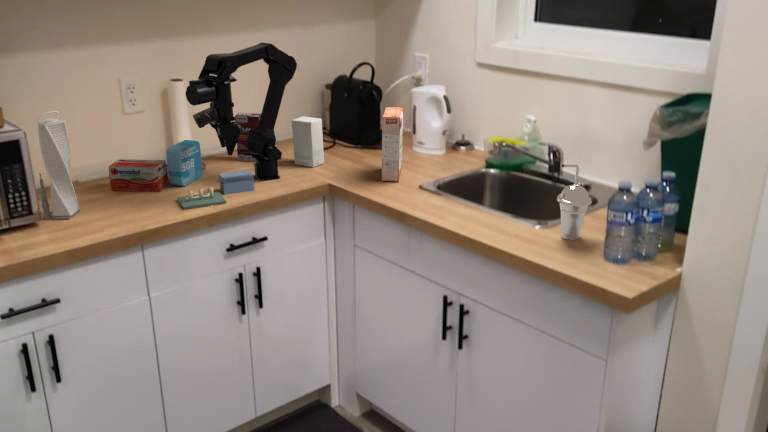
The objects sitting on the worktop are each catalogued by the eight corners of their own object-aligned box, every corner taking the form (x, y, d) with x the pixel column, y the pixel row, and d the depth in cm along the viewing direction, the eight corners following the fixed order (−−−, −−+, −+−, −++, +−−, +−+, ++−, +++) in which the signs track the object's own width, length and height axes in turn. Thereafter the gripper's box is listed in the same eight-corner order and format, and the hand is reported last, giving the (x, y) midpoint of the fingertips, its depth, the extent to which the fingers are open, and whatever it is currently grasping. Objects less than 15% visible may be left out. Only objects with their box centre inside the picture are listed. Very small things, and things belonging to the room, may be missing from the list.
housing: (249, 185, 218) (248, 170, 216) (254, 190, 213) (253, 174, 212) (220, 189, 214) (218, 173, 212) (224, 194, 210) (223, 178, 208)
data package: (182, 187, 215) (178, 149, 211) (169, 186, 217) (165, 148, 212) (203, 176, 226) (199, 139, 222) (190, 174, 227) (187, 138, 223)
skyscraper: (57, 208, 198) (40, 109, 188) (86, 208, 198) (70, 110, 188) (43, 219, 190) (24, 117, 180) (72, 219, 190) (56, 117, 180)
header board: (218, 194, 210) (217, 181, 209) (226, 203, 202) (225, 190, 201) (177, 199, 205) (176, 187, 204) (183, 209, 198) (182, 196, 196)
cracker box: (400, 182, 221) (401, 116, 214) (380, 181, 222) (381, 116, 214) (403, 169, 234) (404, 106, 227) (384, 168, 235) (385, 106, 227)
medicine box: (169, 184, 219) (166, 159, 216) (160, 192, 212) (157, 167, 209) (120, 183, 220) (117, 158, 217) (110, 191, 212) (106, 166, 209)
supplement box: (237, 161, 242) (234, 115, 236) (242, 157, 246) (239, 112, 241) (261, 162, 240) (258, 116, 235) (266, 158, 245) (263, 113, 239)
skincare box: (324, 163, 240) (323, 118, 234) (312, 168, 234) (311, 122, 229) (305, 159, 244) (303, 115, 238) (292, 164, 239) (291, 119, 233)
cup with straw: (592, 242, 178) (601, 166, 170) (557, 243, 177) (564, 167, 170) (580, 229, 185) (589, 156, 178) (547, 230, 185) (554, 157, 178)
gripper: (187, 95, 209) (193, 146, 215) (199, 108, 193) (205, 163, 199) (225, 91, 213) (230, 142, 219) (240, 104, 197) (244, 158, 203)
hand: (226, 151), depth 210 cm, fingers open, 9 cm apart
